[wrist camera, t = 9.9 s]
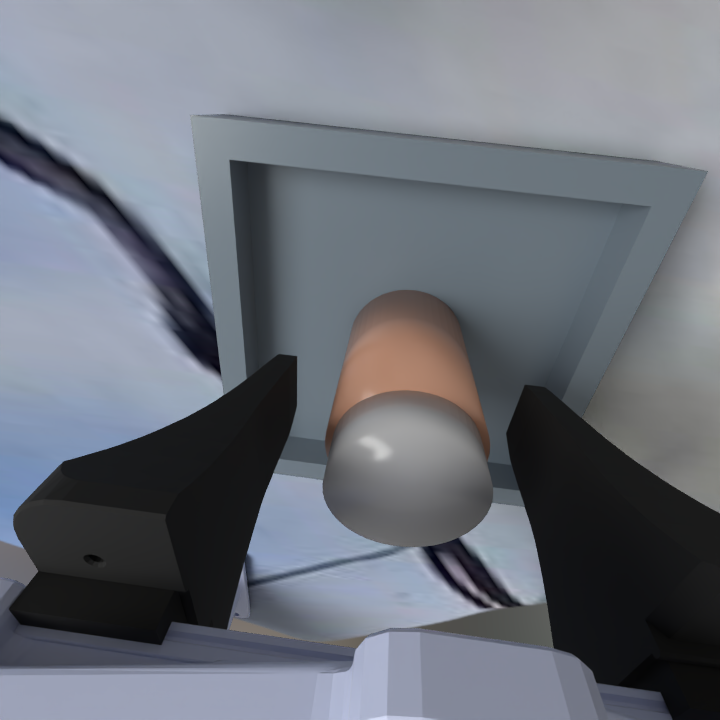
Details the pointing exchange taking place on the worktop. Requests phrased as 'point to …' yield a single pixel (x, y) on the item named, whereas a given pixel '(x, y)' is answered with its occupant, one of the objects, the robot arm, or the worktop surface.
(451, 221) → the tray
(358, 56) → the worktop surface
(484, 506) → the shaker
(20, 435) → the worktop surface
